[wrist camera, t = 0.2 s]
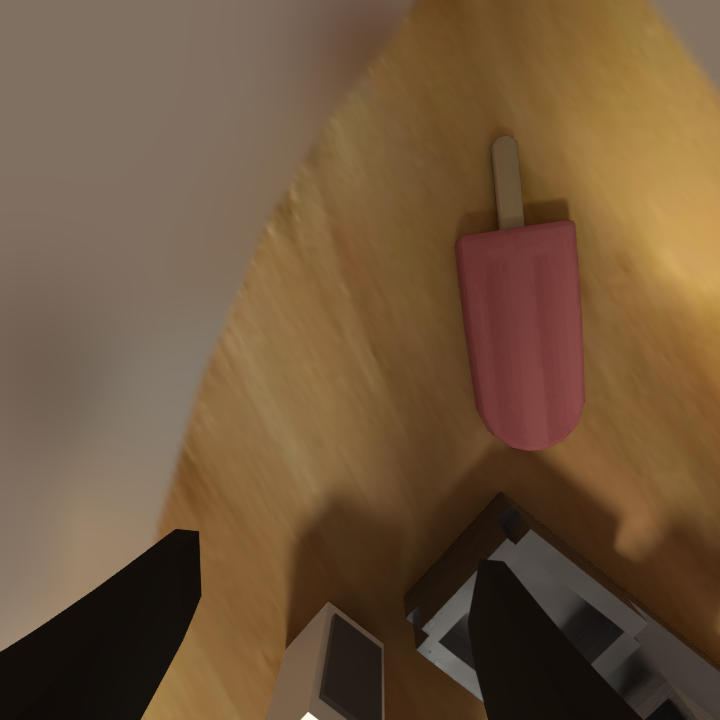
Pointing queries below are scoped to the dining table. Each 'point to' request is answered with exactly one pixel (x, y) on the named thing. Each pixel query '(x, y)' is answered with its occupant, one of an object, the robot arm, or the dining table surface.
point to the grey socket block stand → (562, 617)
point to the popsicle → (522, 318)
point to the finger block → (330, 672)
